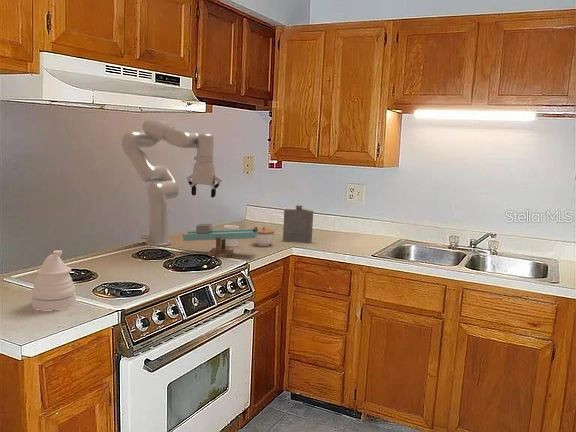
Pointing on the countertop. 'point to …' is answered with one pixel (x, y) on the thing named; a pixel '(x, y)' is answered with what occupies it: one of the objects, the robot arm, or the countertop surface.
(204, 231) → the block
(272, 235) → the lidded jar
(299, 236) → the hip flask
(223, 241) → the stand
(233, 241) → the white cup
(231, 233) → the beam
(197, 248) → the countertop surface
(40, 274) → the honey pot
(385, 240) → the countertop surface
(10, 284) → the countertop surface
